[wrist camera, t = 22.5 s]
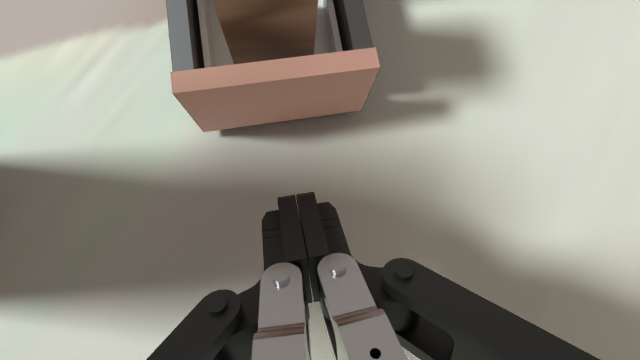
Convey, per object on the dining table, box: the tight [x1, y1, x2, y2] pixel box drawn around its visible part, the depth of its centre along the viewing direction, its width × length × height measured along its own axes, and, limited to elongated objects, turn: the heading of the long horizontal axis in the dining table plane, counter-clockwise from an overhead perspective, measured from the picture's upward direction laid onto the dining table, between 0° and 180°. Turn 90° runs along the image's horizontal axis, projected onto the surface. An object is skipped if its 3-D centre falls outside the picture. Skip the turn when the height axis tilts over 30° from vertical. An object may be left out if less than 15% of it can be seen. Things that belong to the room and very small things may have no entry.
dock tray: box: [171, 0, 380, 132], centre depth 23 cm, size 10×11×6 cm
